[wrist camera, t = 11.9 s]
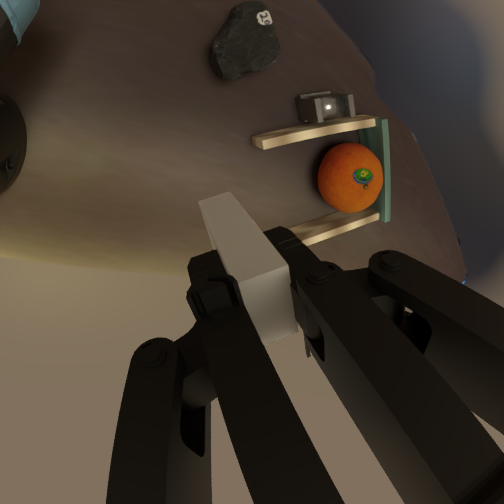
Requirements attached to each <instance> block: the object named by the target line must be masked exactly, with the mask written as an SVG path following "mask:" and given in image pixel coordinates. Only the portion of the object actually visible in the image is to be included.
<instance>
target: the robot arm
mask: <svg viewBox="0 0 504 504" xmlns="http://www.w3.org/2000/svg"><path fill="white" fill-rule="evenodd" d="M39 6H40V0H0V74H1V72H2V70H3V68H4V66H5V65H6V63H7V61H8V59H9V58H10V56H11V54H12V53H13V51H14V49H15V48H16V46H18V45H19V44H20V42H21V39H22V35H23V34H24V32H25V31H26V29H27V27H28V26H29V24H30V23H31V21H32V20H33V18H34V17H35V15H36V14H37V12H38V10H39ZM26 142H27V136H26V127H25V123H24V119H23V116H22V114H21V112H20V110H19V108H18V107H17V105H16V104H15V103H14V102H13V101H12V100H11V99H9V98H8V97H6V96H4V95H0V194H1V193H3V192H4V191H5V190H7V189H8V188H9V187H10V186H11V185H12V183H13V182H14V181H15V179H16V178H17V176H18V174H19V172H20V170H21V167H22V165H23V161H24V158H25V153H26ZM198 203H199V206H200V209H201V212H202V215H203V219H204V222H205V225H206V228H207V231H208V234H209V237H210V241H211V244H212V247H213V250H212V251H209V252H207V253H204V254H201V255H198V256H195V257H192V258H191V259H190V262H189V264H188V267H187V268H188V273H189V276H190V281H191V286H190V288H189V290H188V291H187V296H186V299H187V301H188V304H189V305H190V308H191V310H192V312H193V314H194V316H195V318H196V323H195V324H194V326H193V328H192V329H191V330H190V331H189V332H188V333H186V334H185V335H184V336H182V337H180V338H179V339H177V340H176V341H174V342H173V341H172V340H169V339H167V338H158V337H157V338H154V339H150V340H148V341H146V342H145V343H143V344H142V345H140V346H139V347H138V348H137V350H136V351H135V352H134V354H133V356H132V358H131V362H130V366H129V371H128V375H127V379H126V383H125V388H124V392H123V398H122V402H121V407H120V412H119V417H118V423H117V428H116V433H115V439H114V446H113V451H112V458H111V466H110V472H109V481H108V489H107V498H106V504H212V487H211V401H212V400H214V399H215V398H217V397H218V401H219V404H220V407H221V410H222V414H223V417H224V420H225V423H226V426H227V430H228V432H229V436H230V439H231V442H232V445H233V448H234V451H235V453H236V456H237V459H238V462H239V465H240V468H241V471H242V473H243V476H244V479H245V481H246V484H247V487H248V489H249V492H250V495H251V497H252V500H253V502H254V504H345V503H344V501H343V500H342V498H341V496H340V494H339V492H338V490H337V489H336V487H335V485H334V483H333V481H332V479H331V477H330V476H329V474H328V472H327V470H326V468H325V466H324V464H323V463H322V461H321V459H320V457H319V455H318V453H317V451H316V449H315V447H314V445H313V443H312V441H311V439H310V438H309V436H308V434H307V432H306V430H305V428H304V426H303V424H302V422H301V420H300V418H299V416H298V414H297V412H296V410H295V408H294V406H293V404H292V403H291V400H290V398H289V396H288V394H287V392H286V390H285V388H284V386H283V384H282V382H281V380H280V378H279V376H278V374H277V372H276V370H275V368H274V366H273V364H272V362H271V359H270V357H269V355H268V353H267V351H266V349H265V347H264V346H265V345H268V344H270V343H273V342H275V341H278V340H280V339H283V338H285V337H287V336H290V335H292V334H295V333H297V332H299V331H298V324H297V322H298V323H299V325H300V327H301V328H302V330H303V332H304V341H305V349H306V354H307V357H310V356H311V355H310V351H311V353H312V355H313V356H314V357H315V359H316V361H317V363H318V364H319V366H320V368H321V369H322V371H323V372H324V374H325V376H326V377H327V379H328V381H329V382H330V384H331V385H332V387H333V389H334V390H335V392H336V393H337V395H338V397H339V398H340V400H341V401H342V403H343V405H344V406H345V408H346V410H347V411H348V413H349V415H350V416H351V418H352V419H353V421H354V423H355V424H356V426H357V427H358V429H359V430H360V432H361V434H362V436H363V437H364V439H365V440H366V442H367V443H368V445H369V447H370V448H371V450H372V452H373V453H374V455H375V457H376V458H377V460H378V461H379V463H380V465H381V466H382V468H383V469H384V471H385V473H386V474H387V476H388V477H389V479H390V481H391V482H392V484H393V486H394V487H395V489H396V490H397V492H398V494H399V495H400V496H401V498H402V500H403V502H404V503H405V504H504V453H503V452H502V451H501V449H500V448H499V447H498V445H497V444H496V443H495V441H494V440H493V439H492V437H491V436H490V435H489V433H488V432H487V431H486V430H485V428H484V427H483V426H482V424H481V423H480V422H479V421H478V420H477V418H476V417H475V416H474V414H473V413H472V412H474V413H475V414H476V415H478V416H479V417H480V418H482V419H483V420H484V421H486V422H487V423H488V424H490V425H491V426H493V427H494V428H495V429H496V430H498V431H499V432H501V433H502V434H503V435H504V308H503V307H501V306H500V305H498V304H496V303H495V302H493V301H491V300H490V299H488V298H486V297H484V296H483V295H481V294H479V293H477V292H475V291H474V290H472V289H470V288H468V287H467V286H465V285H463V284H461V283H459V282H458V281H456V280H454V279H452V278H450V277H448V276H447V275H445V274H443V273H441V272H439V271H437V270H435V269H433V268H431V267H429V266H428V265H426V264H424V263H422V262H420V261H418V260H416V259H414V258H412V257H410V256H408V255H406V254H404V253H401V252H398V251H394V250H384V251H379V252H377V253H375V254H373V255H372V256H371V258H370V259H369V264H368V268H362V269H356V270H347V271H343V270H342V269H341V268H340V267H339V266H337V265H336V264H334V263H331V262H327V261H320V260H319V259H318V258H317V257H316V255H315V254H314V253H313V252H312V251H311V250H310V249H309V248H308V247H307V246H306V245H305V244H304V243H302V241H301V240H300V239H299V238H297V236H296V235H295V234H294V233H293V232H292V231H291V230H289V229H286V228H284V227H281V226H279V227H276V228H273V229H270V230H267V231H264V232H262V231H261V230H260V228H259V227H258V226H257V225H256V223H255V222H254V221H253V220H252V218H251V217H250V216H249V215H248V213H247V212H246V211H245V210H244V208H243V207H242V206H241V205H240V203H239V202H238V201H237V200H236V198H235V197H234V196H233V195H232V193H231V192H230V191H228V192H225V193H222V194H219V195H216V196H213V197H210V198H207V199H204V200H201V201H198ZM405 307H407V308H409V309H410V310H412V311H413V313H409V312H407V311H405ZM470 410H471V411H472V412H471V411H470Z"/></svg>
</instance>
